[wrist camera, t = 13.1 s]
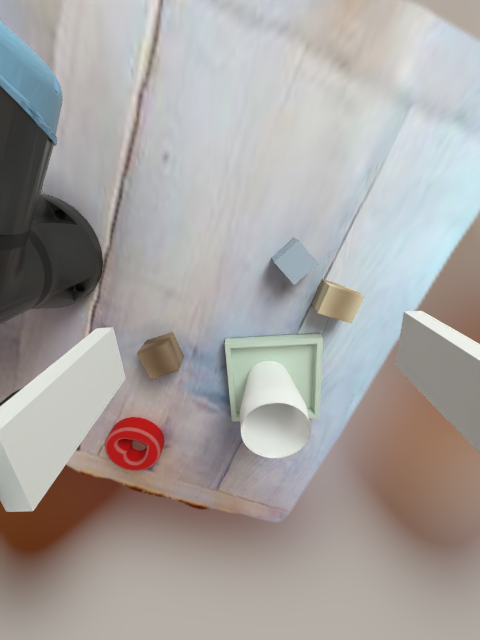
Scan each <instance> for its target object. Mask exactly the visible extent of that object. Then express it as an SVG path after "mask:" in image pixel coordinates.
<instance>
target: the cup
mask: <svg viewBox="0 0 480 640" xmlns="http://www.w3.org/2000/svg"><path fill="white" fill-rule="evenodd" d="M240 425H241V436H242V440H243V442H244V444H245V445H246V446H247V447H248V448H249V449H250V450H251V451H252V452H254V453H256V454H258V455H260V456H263V457H268V458H281V457H286V456H289V455H292V454H294V453H296V452H298V451H299V450H300V449H302V448H303V447H304V446H305V444H306V443H307V441H308V439H309V437H310V433H311V426H310V421H309V417H308V412H307V407H306V405H305V402H304V401H303V399H302V397H301V395H300V393H299V392H298V390H297V388H296V386H295V384H294V383H293V381H292V379H291V377H290V375H289V374H288V372H287V370H286V369H285V367H284V366H283V365H281V364H280V363H278V362H274V361H263V362H260V363H258V364H256V365H255V366H254V367H253V368H252V369H251V370H250V372H249V374H248V378H247V383H246V387H245V391H244V396H243V400H242V404H241V409H240Z"/></svg>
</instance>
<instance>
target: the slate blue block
mask: <svg viewBox="0 0 480 640" xmlns="http://www.w3.org/2000/svg"><path fill="white" fill-rule="evenodd" d="M272 260H273V261H274V263H275V264H276V265H277V266H278V267H279V269H280V270H281V271H282V272H283V273H284V274H285V275H286V276H287V278H288V279H289V280H290V281H291V282H292V283H293V284H294V285H295V284H296V283H297V282H298V281H299V280H300V279H302V278H303V277H304V276H305V275H306V274H307V273H309V272H310V271H311V270H312V269H313V268H314V267H316V266H317V265H318V263H317V262H316V260H315V259H314V258H313V257H312V256H311V255H310V253H309V252H308V251H307V250H306V249H305V247H304V246H303V245H302V244H301V243H300V241H299V240H297V239H295V238H292V239H291V240H290V241H289V242H288V243H287V244H286V245H285V246H284V247H283V248H282V249H280V250H279V251H278V252H277V253H276V254H275V255H274V256H273V257H272Z"/></svg>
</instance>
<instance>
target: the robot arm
mask: <svg viewBox="0 0 480 640" xmlns="http://www.w3.org/2000/svg"><path fill="white" fill-rule="evenodd" d="M61 106H62V91H61V87H60V84H59V82H58V80H57V78H56V76H55V75H54V73H53V72H52V70H51V69H50V68H49V67H48V65H47V64H46V63H45V62H44V61H43V60H42V59H41V58H40V57H39V56H38V55H37V54H36V53H35V52H34V51H33V50H32V49H31V48H30V47H29V46H28V45H27V44H26V43H25V42H24V41H23V40H21V39H20V38H19V37H18V36H17V35H16V34H15V33H14V32H12V31H11V30H10V29H9V28H8V27H7V26H6V25H5V24H3V23H2V22H1V21H0V323H2V322H4V321H6V320H8V319H11V318H13V317H15V316H17V315H19V314H21V313H23V312H25V311H27V310H29V309H39V308H59V307H64V306H68V305H70V304H73V303H75V302H77V301H79V300H80V299H82V298H84V297H85V296H87V295H88V294H89V293H90V292H91V291H92V290H93V289H94V288H95V286H96V285H97V283H98V281H99V279H100V276H101V272H102V264H103V260H102V251H101V247H100V244H99V241H98V238H97V236H96V234H95V232H94V230H93V229H92V227H91V226H90V224H89V223H88V222H87V220H86V219H85V218H84V217H83V216H82V215H81V214H80V213H79V212H78V211H77V210H76V209H74V208H73V207H72V206H70V205H69V204H67V203H65V202H64V201H62V200H60V199H57V198H55V197H52V196H49V195H44V194H40V192H41V189H42V185H43V182H44V178H45V175H46V171H47V167H48V164H49V160H50V157H51V153H52V149H53V146H54V145H55V146H56V144H57V137H56V136H55V135H56V130H57V125H58V120H59V115H60V111H61ZM396 367H397V368H398V369H399V370H400V371H401V372H402V373H403V374H404V375H405V376H406V377H407V378H408V379H409V380H410V381H411V383H412V384H413V385H414V386H415V387H416V388H417V389H418V390H419V391H420V392H421V393H422V394H423V395H424V396H425V397H426V398H427V399H428V400H429V401H430V402H431V403H432V404H433V405H434V406H435V407H436V408H437V410H438V411H440V413H441V414H442V415H443V416H444V417H445V418H446V419H447V420H448V421H449V422H450V423H451V424H452V425H453V426H454V427H455V428H456V429H457V430H458V431H459V432H460V433H461V434H462V435H463V437H464V438H465V439H467V441H468V442H469V443H470V444H471V445H472V446H473V447H474V448H475V449H476V450H477V451H478V452H479V453H480V344H478V343H477V342H475V341H473V340H471V339H470V338H468V337H466V336H464V335H463V334H461V333H459V332H458V331H456V330H454V329H452V328H451V327H449V326H447V325H445V324H443V323H441V322H440V321H438V320H436V319H435V318H433V317H431V316H430V315H428V314H426V313H424V312H423V311H409V312H404V315H403V321H402V328H401V334H400V341H399V347H398V354H397V360H396ZM125 379H126V378H125V374H124V370H123V366H122V362H121V357H120V353H119V349H118V345H117V341H116V337H115V333H114V329H113V327H111V328H97V329H95V330H94V331H93V332H92V333H90V334H89V335H88V336H87V337H85V338H84V339H83V340H82V341H80V342H79V343H78V344H77V345H76V346H74V347H73V348H72V349H71V350H69V351H68V352H67V353H66V354H64V355H63V356H62V357H61V358H59V359H58V360H57V361H56V362H55V363H53V364H52V365H51V366H50V367H48V368H47V369H46V370H45V371H43V372H42V373H41V374H40V375H38V376H37V377H36V378H35V379H34V380H32V381H31V382H30V383H29V384H27V385H26V386H25V387H23V388H22V389H20V390H18V391H16V392H14V393H12V394H11V395H10V396H8V397H7V398H6V399H5V400H3V401H2V402H1V403H0V500H1V502H2V504H3V506H4V508H5V510H6V512H17V511H34V509H35V508H36V506H37V505H38V503H39V502H40V501H41V499H42V498H43V496H44V495H45V493H46V492H47V491H48V489H49V488H50V486H51V485H52V483H53V482H54V480H55V479H56V478H57V476H58V475H59V473H60V472H61V470H62V469H63V468H64V466H65V465H66V463H67V462H68V460H69V459H70V458H71V456H72V455H73V453H74V452H75V450H76V449H77V448H78V446H79V445H80V443H81V442H82V440H83V439H84V438H85V436H86V435H87V433H88V432H89V430H90V429H91V428H92V426H93V425H94V423H95V422H96V420H97V419H98V418H99V416H100V415H101V413H102V412H103V410H104V409H105V408H106V406H107V405H108V403H109V402H110V400H111V399H112V398H113V396H114V395H115V393H116V392H117V390H118V389H119V387H120V386H121V385H122V383H123V382H124V380H125Z"/></svg>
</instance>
